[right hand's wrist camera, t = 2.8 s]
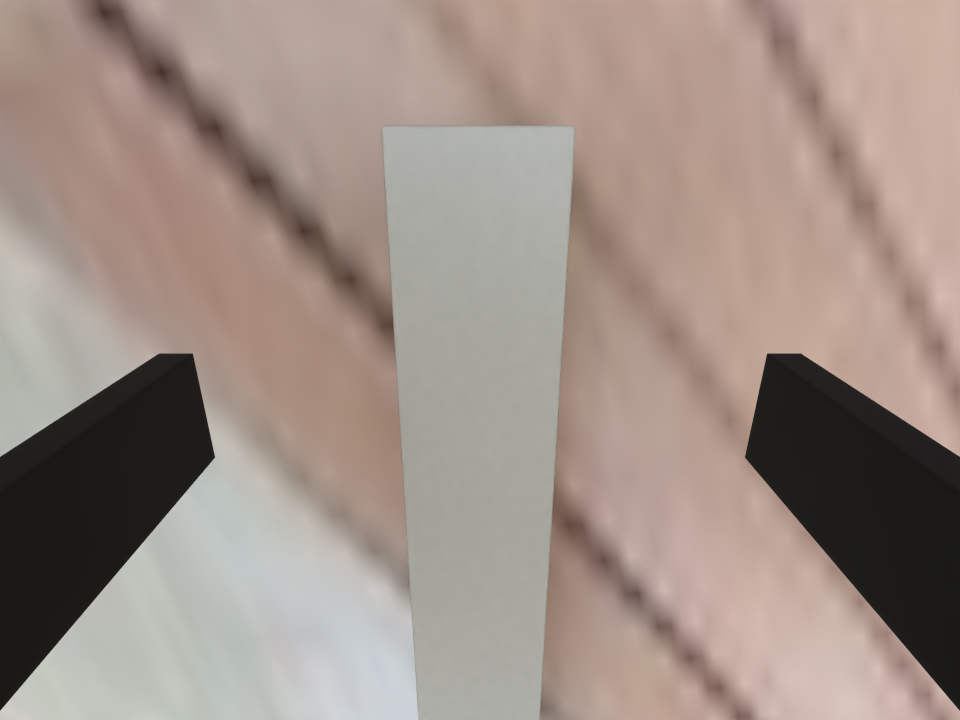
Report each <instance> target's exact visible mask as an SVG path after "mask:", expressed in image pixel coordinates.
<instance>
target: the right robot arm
mask: <svg viewBox="0 0 960 720" xmlns="http://www.w3.org/2000/svg"><path fill="white" fill-rule="evenodd" d="M214 458H215V455H214V451H213V446H212V441H211V437H210V432H209V427H208V423H207V418H206V413H205V409H204V404H203V399H202V395H201V390H200V385H199V381H198V376H197V371H196V367H195V362H194V357H193V354H158V355H156V356H155V357H153V358H152V359H150V360H149V361H147V362H146V363H144V364H143V365H141V366H139V367H138V368H136V369H135V370H133V371H132V372H130V373H129V374H127V375H126V376H124V377H123V378H121V379H119V380H118V381H116V382H115V383H113V384H112V385H110V386H109V387H107V388H106V389H104V390H103V391H101V392H99V393H98V394H96V395H95V396H93V397H92V398H90V399H89V400H87V401H86V402H84V403H83V404H81V405H79V406H78V407H76V408H75V409H73V410H72V411H70V412H69V413H67V414H66V415H64V416H63V417H61V418H59V419H58V420H56V421H55V422H53V423H52V424H50V425H49V426H47V427H46V428H44V429H43V430H41V431H39V432H38V433H36V434H35V435H33V436H32V437H30V438H29V439H27V440H26V441H24V442H23V443H21V444H19V445H18V446H16V447H15V448H13V449H12V450H10V451H9V452H7V453H6V454H4V455H3V456H1V457H0V710H1V709H2V708H3V707H4V706H5V704H6V703H7V702H8V701H9V700H10V698H11V697H12V696H13V695H14V694H15V693H16V691H17V690H18V689H19V688H20V687H21V685H22V684H23V683H24V682H25V681H26V680H27V678H28V677H29V676H30V675H31V674H32V673H33V671H34V670H35V669H36V668H37V667H38V665H39V664H40V663H41V662H42V661H43V660H44V658H45V657H46V656H47V655H48V654H49V652H50V651H51V650H52V649H53V648H54V647H55V645H56V644H57V643H58V642H59V641H60V640H61V638H62V637H63V636H64V635H65V634H66V632H67V631H68V630H69V629H70V628H71V627H72V625H73V624H74V623H75V622H76V621H77V619H78V618H79V617H80V616H81V615H82V614H83V612H84V611H85V610H86V609H87V608H88V607H89V605H90V604H91V603H92V602H93V601H94V599H95V598H96V597H97V596H98V595H99V594H100V592H101V591H102V590H103V589H104V588H105V586H106V585H107V584H108V583H109V582H110V581H111V579H112V578H113V577H114V576H115V575H116V574H117V572H118V571H119V570H120V569H121V568H122V566H123V565H124V564H125V563H126V562H127V561H128V559H129V558H130V557H131V556H132V555H133V553H134V552H135V551H136V550H137V549H138V548H139V546H140V545H141V544H142V543H143V542H144V541H145V539H146V538H147V537H148V536H149V535H150V533H151V532H152V531H153V530H154V529H155V528H156V526H157V525H158V524H159V523H160V522H161V520H162V519H163V518H164V517H165V516H166V515H167V513H168V512H169V511H170V510H171V509H172V508H173V506H174V505H175V504H176V503H177V502H178V500H179V499H180V498H181V497H182V496H183V495H184V493H185V492H186V491H187V490H188V489H189V487H190V486H191V485H192V484H193V483H194V482H195V480H196V479H197V478H198V477H199V476H200V475H201V473H202V472H203V471H204V470H205V469H206V467H207V466H208V465H209V464H210V463H211V462H212V460H213V459H214ZM745 458H746V459H747V460H748V462H749V463H750V464H751V465H752V466H753V467H754V469H755V470H756V471H757V472H758V473H759V475H760V476H761V477H762V478H763V479H764V480H765V482H766V483H767V484H768V485H769V486H770V487H771V489H772V490H773V491H774V492H775V493H776V495H777V496H778V497H779V498H780V499H781V500H782V502H783V503H784V504H785V505H786V506H787V508H788V509H789V510H790V511H791V512H792V513H793V515H794V516H795V517H796V518H797V519H798V520H799V522H800V523H801V524H802V525H803V526H804V528H805V529H806V530H807V531H808V532H809V533H810V535H811V536H812V537H813V538H814V539H815V541H816V542H817V543H818V544H819V545H820V546H821V548H822V549H823V550H824V551H825V552H826V553H827V555H828V556H829V557H830V558H831V559H832V561H833V562H834V563H835V564H836V565H837V566H838V568H839V569H840V570H841V571H842V572H843V574H844V575H845V576H846V577H847V578H848V579H849V581H850V582H851V583H852V584H853V585H854V586H855V588H856V589H857V590H858V591H859V592H860V594H861V595H862V596H863V597H864V598H865V599H866V601H867V602H868V603H869V604H870V605H871V607H872V608H873V609H874V610H875V611H876V612H877V614H878V615H879V616H880V617H881V618H882V619H883V621H884V622H885V623H886V624H887V625H888V627H889V628H890V629H891V630H892V631H893V632H894V634H895V635H896V636H897V637H898V638H899V640H900V641H901V642H902V643H903V644H904V645H905V647H906V648H907V649H908V650H909V651H910V652H911V654H912V655H913V656H914V657H915V658H916V660H917V661H918V662H919V663H920V664H921V665H922V667H923V668H924V669H925V670H926V671H927V673H928V674H929V675H930V676H931V677H932V678H933V680H934V681H935V682H936V683H937V684H938V685H939V687H940V688H941V689H942V690H943V691H944V693H945V694H946V695H947V696H948V697H949V698H950V700H951V701H952V702H953V703H954V704H955V706H956V707H957V708H958V709H959V710H960V457H959V456H957V455H956V454H954V453H953V452H951V451H950V450H948V449H947V448H945V447H944V446H942V445H941V444H939V443H937V442H936V441H934V440H933V439H931V438H930V437H928V436H927V435H925V434H924V433H922V432H921V431H919V430H917V429H916V428H914V427H913V426H911V425H910V424H908V423H907V422H905V421H904V420H902V419H901V418H899V417H897V416H896V415H894V414H893V413H891V412H890V411H888V410H887V409H885V408H884V407H882V406H881V405H879V404H877V403H876V402H874V401H873V400H871V399H870V398H868V397H867V396H865V395H864V394H862V393H861V392H859V391H857V390H856V389H854V388H853V387H851V386H850V385H848V384H847V383H845V382H844V381H842V380H841V379H839V378H837V377H836V376H834V375H833V374H831V373H830V372H828V371H827V370H825V369H824V368H822V367H821V366H819V365H817V364H816V363H814V362H813V361H811V360H810V359H808V358H807V357H805V356H804V355H802V354H767V357H766V362H765V367H764V371H763V376H762V381H761V385H760V390H759V395H758V399H757V404H756V409H755V413H754V418H753V423H752V427H751V432H750V437H749V441H748V446H747V451H746V455H745Z"/></svg>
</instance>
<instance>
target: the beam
mask: <svg viewBox="0 0 960 720" xmlns="http://www.w3.org/2000/svg"><path fill="white" fill-rule="evenodd" d="M575 132H576V129H575V126H382V128H381V134H382V149H383V165H384V181H385V197H386V213H387V228H388V244H389V260H390V276H391V291H392V307H393V323H394V339H395V355H396V370H397V386H398V402H399V418H400V434H401V449H402V465H403V481H404V497H405V513H406V528H407V544H408V560H409V576H410V592H411V607H412V623H413V639H414V655H415V671H416V686H417V702H418V718H419V720H540V707H541V691H542V674H543V658H544V641H545V625H546V609H547V592H548V576H549V559H550V543H551V526H552V510H553V493H554V477H555V461H556V444H557V428H558V411H559V395H560V378H561V362H562V346H563V329H564V313H565V296H566V280H567V263H568V247H569V230H570V214H571V198H572V181H573V165H574V148H575Z"/></svg>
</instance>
